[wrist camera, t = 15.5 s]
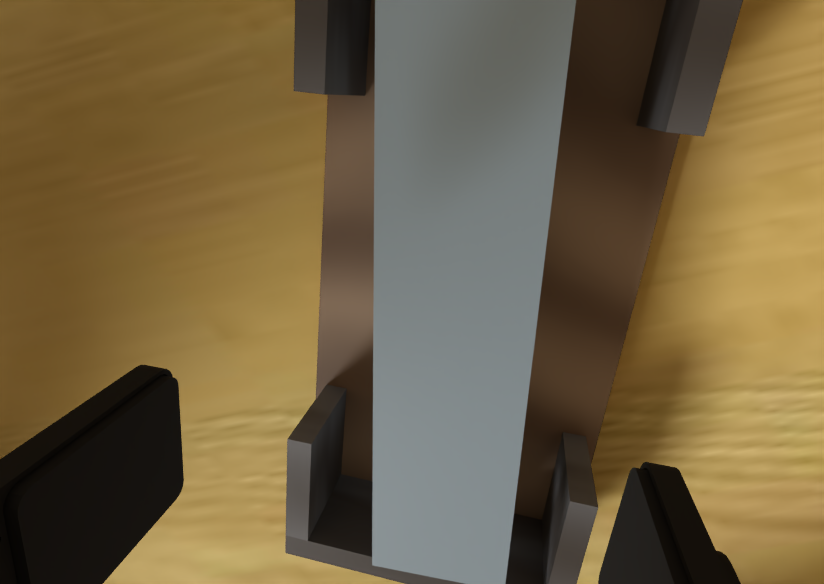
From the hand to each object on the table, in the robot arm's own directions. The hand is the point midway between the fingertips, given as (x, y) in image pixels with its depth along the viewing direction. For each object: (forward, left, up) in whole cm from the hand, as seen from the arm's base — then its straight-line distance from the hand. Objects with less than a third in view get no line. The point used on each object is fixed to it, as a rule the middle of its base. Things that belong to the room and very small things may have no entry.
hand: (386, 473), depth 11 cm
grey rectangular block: (0, 0, -12) cm, 12 cm away
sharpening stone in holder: (0, 0, -14) cm, 14 cm away
